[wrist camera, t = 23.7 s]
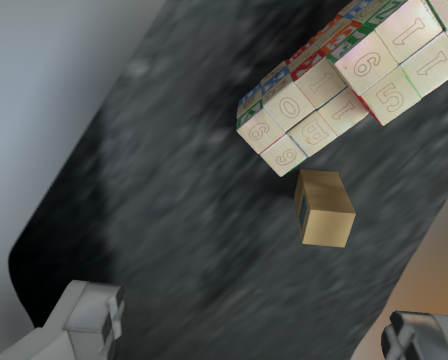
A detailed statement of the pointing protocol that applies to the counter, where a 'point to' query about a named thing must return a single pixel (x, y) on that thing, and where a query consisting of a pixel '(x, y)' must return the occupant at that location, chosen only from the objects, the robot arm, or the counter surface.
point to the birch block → (323, 208)
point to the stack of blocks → (347, 78)
